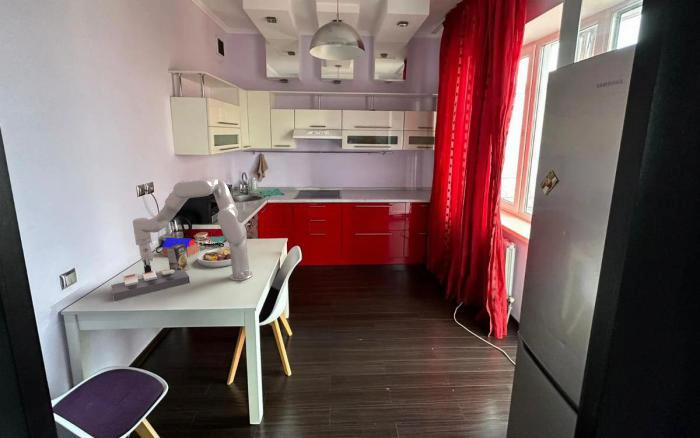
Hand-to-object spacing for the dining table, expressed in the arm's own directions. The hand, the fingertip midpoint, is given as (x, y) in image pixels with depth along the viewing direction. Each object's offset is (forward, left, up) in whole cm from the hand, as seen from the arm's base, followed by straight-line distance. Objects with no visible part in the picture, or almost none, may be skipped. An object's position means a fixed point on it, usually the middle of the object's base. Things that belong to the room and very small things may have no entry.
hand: (148, 272), depth 205 cm
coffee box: (+10, -17, -7) cm, 21 cm away
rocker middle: (-4, 0, -1) cm, 4 cm away
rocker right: (-4, -9, -1) cm, 10 cm away
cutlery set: (+58, -49, -8) cm, 76 cm away
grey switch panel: (-6, 0, -7) cm, 9 cm away
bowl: (+14, -44, -7) cm, 47 cm away
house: (+47, -25, -7) cm, 54 cm away
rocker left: (-4, +9, -1) cm, 10 cm away
